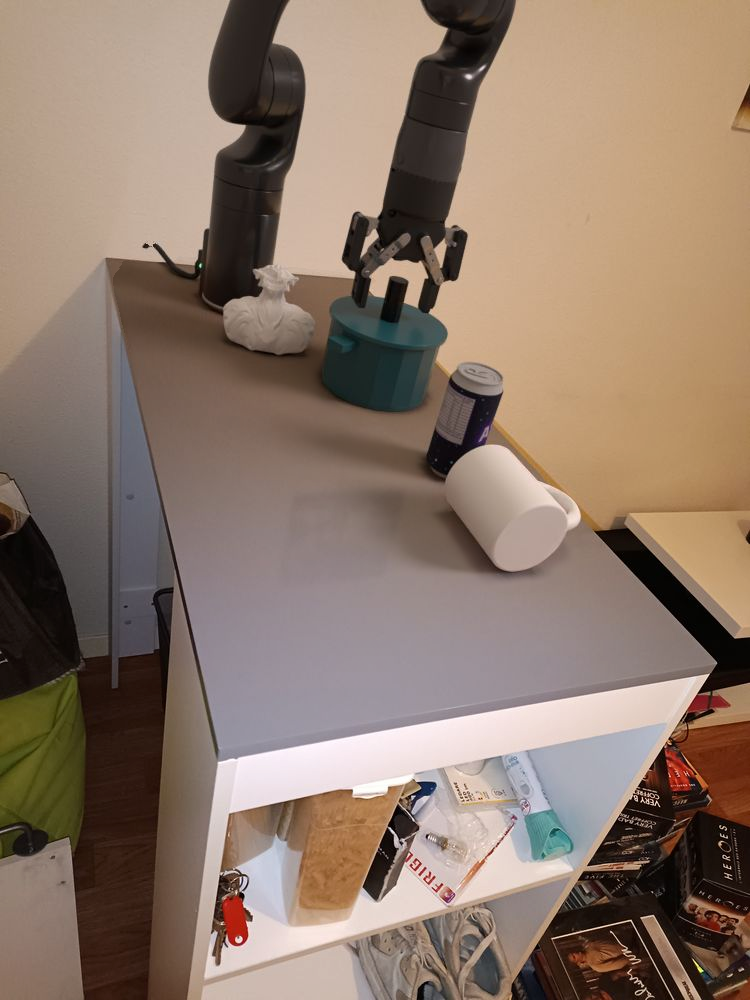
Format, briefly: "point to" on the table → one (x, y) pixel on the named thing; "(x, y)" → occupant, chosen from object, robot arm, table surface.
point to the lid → (390, 320)
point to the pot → (376, 372)
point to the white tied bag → (269, 316)
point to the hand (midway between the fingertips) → (391, 308)
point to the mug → (508, 507)
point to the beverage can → (464, 415)
